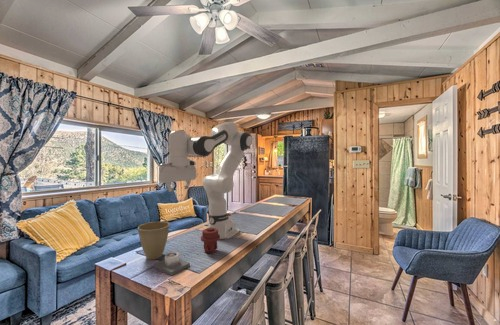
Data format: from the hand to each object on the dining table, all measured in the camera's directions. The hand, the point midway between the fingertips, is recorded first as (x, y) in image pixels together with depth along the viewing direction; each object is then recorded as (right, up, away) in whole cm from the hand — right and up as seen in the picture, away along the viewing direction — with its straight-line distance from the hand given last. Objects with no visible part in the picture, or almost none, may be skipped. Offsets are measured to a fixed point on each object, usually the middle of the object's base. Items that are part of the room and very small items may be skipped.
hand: (179, 190), depth 111 cm
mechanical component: (+14, -34, +8) cm, 38 cm away
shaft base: (-1, -34, -8) cm, 35 cm away
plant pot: (-14, -35, +3) cm, 37 cm away
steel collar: (-1, -33, -8) cm, 34 cm away
